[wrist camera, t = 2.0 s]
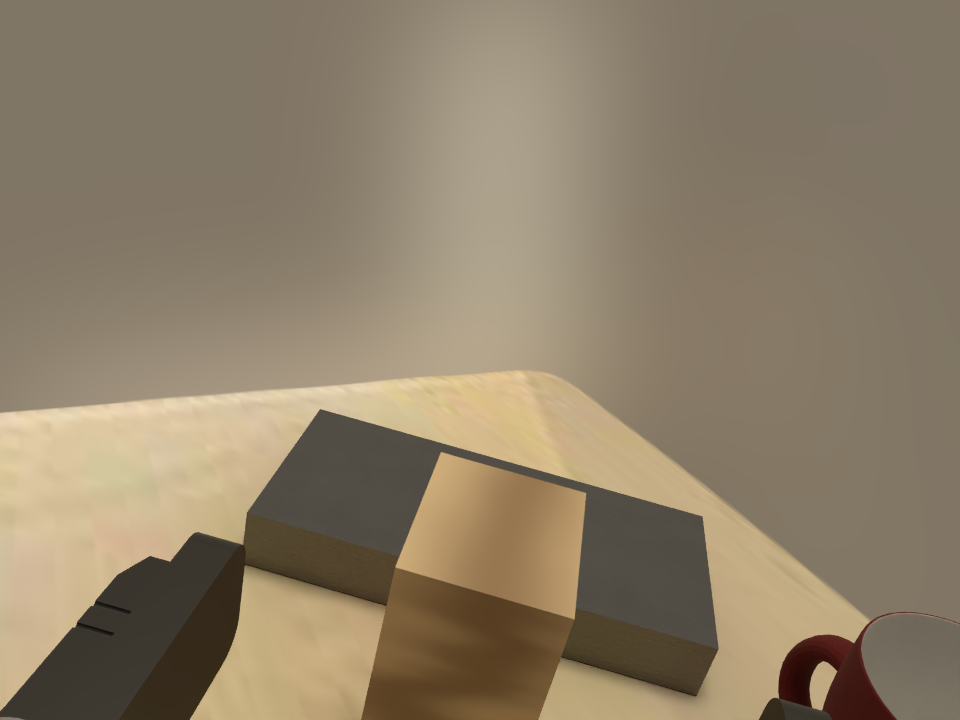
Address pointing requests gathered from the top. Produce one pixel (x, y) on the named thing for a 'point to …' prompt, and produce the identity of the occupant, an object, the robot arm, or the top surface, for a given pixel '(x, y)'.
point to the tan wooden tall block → (479, 598)
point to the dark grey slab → (411, 461)
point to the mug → (883, 670)
